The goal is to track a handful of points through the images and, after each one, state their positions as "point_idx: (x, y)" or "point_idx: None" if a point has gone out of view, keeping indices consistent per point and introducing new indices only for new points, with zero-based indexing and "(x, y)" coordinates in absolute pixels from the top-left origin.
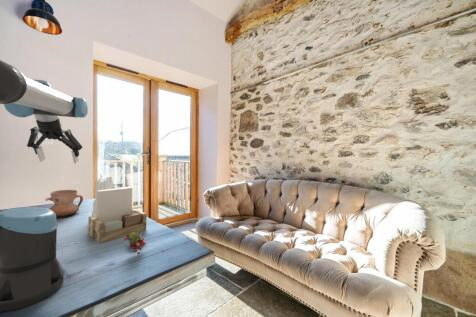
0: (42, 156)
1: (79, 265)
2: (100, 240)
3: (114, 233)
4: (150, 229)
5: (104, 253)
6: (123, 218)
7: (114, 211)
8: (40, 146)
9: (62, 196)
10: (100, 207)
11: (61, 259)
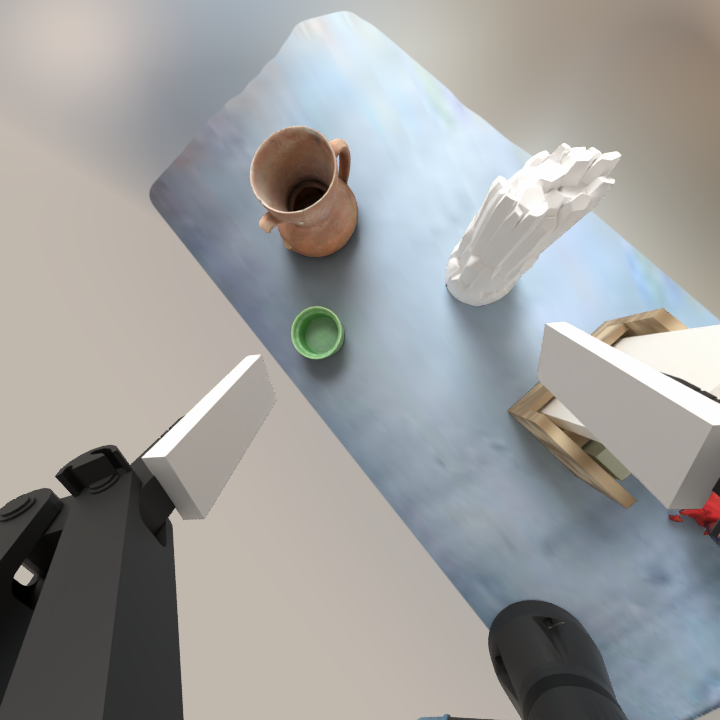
0: (252, 402)
1: (579, 569)
2: (588, 483)
3: None
4: None
5: (610, 518)
6: None
7: None
8: (153, 460)
9: (312, 213)
10: None
11: (518, 532)
